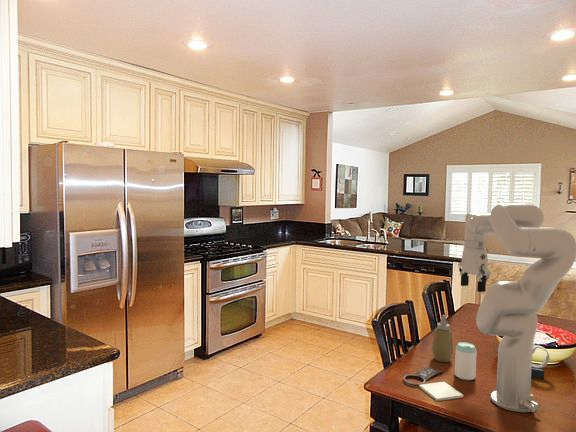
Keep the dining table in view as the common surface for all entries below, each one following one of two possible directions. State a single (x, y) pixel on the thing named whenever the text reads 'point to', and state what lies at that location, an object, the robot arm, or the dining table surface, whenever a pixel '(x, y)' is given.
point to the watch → (536, 369)
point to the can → (465, 361)
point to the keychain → (421, 376)
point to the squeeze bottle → (442, 341)
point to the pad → (441, 391)
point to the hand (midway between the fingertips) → (472, 288)
